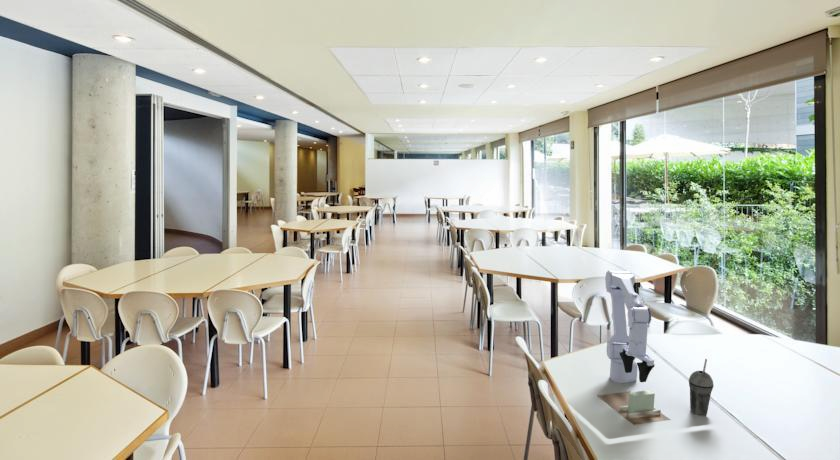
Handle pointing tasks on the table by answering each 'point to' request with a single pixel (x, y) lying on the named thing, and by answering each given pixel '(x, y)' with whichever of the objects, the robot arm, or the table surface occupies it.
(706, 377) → the beverage cup
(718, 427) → the table surface
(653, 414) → the track base
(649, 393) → the door panel
